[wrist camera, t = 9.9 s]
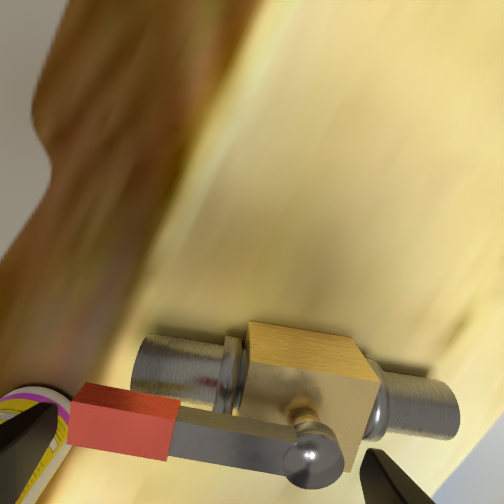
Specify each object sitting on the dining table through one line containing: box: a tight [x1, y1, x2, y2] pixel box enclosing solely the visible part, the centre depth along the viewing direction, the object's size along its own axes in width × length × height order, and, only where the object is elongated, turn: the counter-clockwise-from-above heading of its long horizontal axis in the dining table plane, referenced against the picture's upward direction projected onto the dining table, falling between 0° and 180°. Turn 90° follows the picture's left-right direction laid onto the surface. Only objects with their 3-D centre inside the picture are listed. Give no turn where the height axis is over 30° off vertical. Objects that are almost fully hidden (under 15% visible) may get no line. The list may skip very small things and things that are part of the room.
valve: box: [130, 321, 460, 472], centre depth 20 cm, size 7×22×7 cm, turn 79°
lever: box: [66, 382, 345, 489], centre depth 15 cm, size 14×3×1 cm, turn 76°
